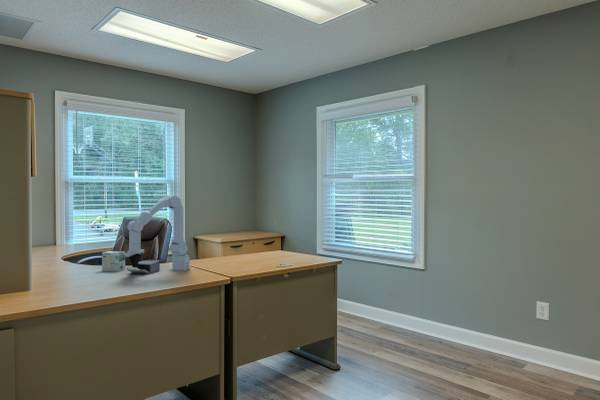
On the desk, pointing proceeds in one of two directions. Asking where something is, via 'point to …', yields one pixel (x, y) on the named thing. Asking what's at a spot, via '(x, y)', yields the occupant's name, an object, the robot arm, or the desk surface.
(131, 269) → the carton flap
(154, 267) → the carton
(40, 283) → the desk surface
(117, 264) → the light bulb box
